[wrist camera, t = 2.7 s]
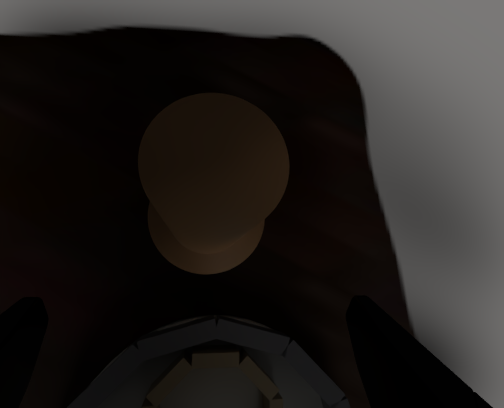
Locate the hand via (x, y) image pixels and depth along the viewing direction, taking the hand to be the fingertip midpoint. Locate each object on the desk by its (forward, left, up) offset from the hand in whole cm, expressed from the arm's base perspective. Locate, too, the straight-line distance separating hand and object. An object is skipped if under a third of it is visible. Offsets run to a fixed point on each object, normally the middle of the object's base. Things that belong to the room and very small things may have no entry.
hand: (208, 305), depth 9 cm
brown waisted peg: (+3, +3, -11) cm, 11 cm away
